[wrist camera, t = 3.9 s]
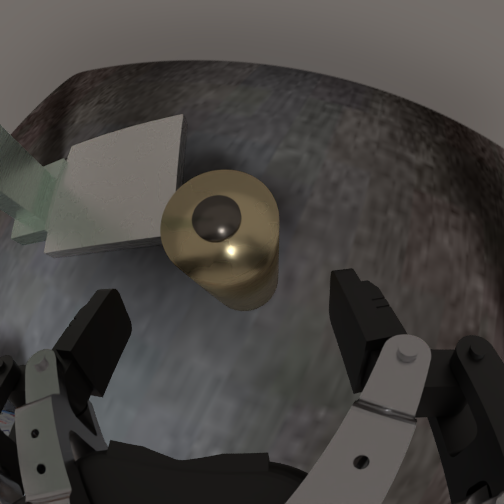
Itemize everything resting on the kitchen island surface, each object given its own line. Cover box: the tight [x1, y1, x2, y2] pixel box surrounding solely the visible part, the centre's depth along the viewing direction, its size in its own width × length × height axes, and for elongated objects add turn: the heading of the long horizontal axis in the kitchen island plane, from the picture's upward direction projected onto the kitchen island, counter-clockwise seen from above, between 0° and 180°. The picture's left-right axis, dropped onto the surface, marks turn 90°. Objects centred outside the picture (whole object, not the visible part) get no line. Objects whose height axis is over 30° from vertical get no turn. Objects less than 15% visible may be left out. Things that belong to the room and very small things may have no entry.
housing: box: [160, 170, 279, 311], centre depth 14 cm, size 4×4×9 cm
